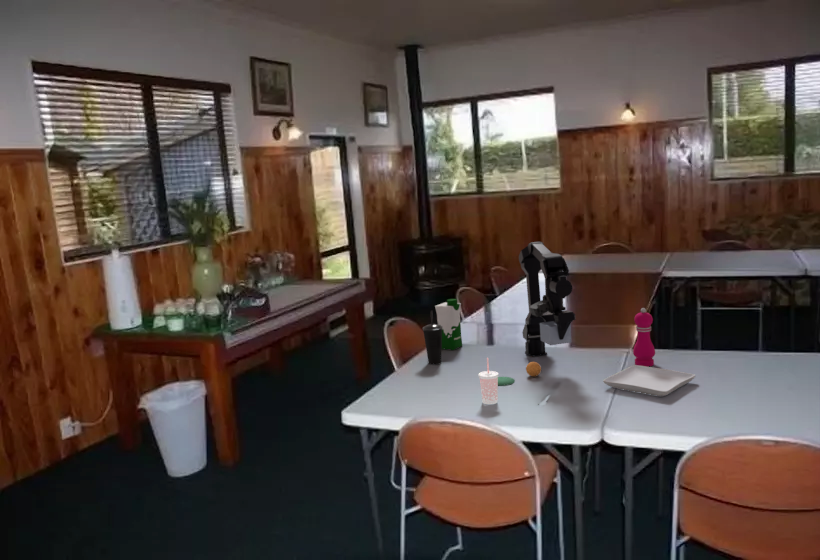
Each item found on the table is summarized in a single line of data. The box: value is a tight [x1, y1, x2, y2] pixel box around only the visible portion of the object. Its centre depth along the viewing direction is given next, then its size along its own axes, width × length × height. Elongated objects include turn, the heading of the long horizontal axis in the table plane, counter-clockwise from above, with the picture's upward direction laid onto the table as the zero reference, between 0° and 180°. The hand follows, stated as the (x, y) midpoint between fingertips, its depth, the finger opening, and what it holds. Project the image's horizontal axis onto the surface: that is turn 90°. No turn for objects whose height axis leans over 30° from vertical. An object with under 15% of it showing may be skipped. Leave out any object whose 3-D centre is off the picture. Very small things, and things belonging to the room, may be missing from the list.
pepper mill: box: [632, 307, 656, 367], centre depth 232 cm, size 7×7×20 cm
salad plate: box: [602, 364, 696, 397], centre depth 211 cm, size 21×21×3 cm
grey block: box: [540, 321, 572, 346], centre depth 231 cm, size 8×8×6 cm
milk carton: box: [434, 298, 463, 351], centre depth 274 cm, size 9×9×20 cm
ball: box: [525, 361, 542, 377], centre depth 229 cm, size 5×5×5 cm
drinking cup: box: [422, 310, 443, 365], centre depth 253 cm, size 8×8×20 cm
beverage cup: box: [477, 357, 499, 405], centre depth 206 cm, size 6×6×14 cm
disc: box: [498, 376, 516, 387], centre depth 226 cm, size 9×9×1 cm
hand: (555, 337), depth 231 cm, fingers closed on grey block, 8 cm apart
